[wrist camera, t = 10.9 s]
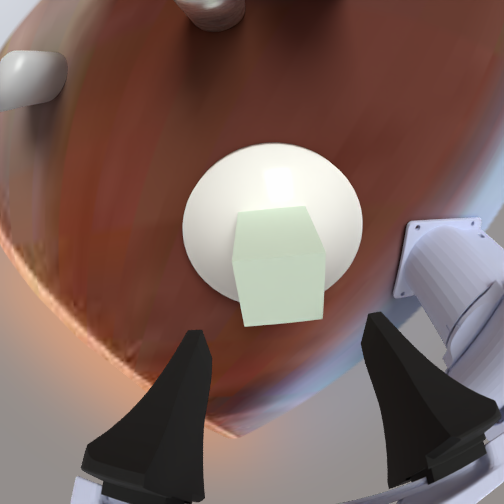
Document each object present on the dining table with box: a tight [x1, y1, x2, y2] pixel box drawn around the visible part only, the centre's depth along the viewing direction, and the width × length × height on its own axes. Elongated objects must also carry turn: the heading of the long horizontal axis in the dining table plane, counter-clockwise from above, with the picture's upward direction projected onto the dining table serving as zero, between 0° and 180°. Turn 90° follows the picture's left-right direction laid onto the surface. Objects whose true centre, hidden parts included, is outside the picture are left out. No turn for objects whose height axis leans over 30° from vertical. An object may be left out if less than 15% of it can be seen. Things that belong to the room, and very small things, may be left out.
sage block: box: [232, 206, 326, 327], centre depth 17 cm, size 4×4×6 cm
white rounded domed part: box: [0, 51, 68, 112], centre depth 11 cm, size 4×4×5 cm
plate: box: [183, 142, 362, 302], centre depth 20 cm, size 13×13×1 cm
